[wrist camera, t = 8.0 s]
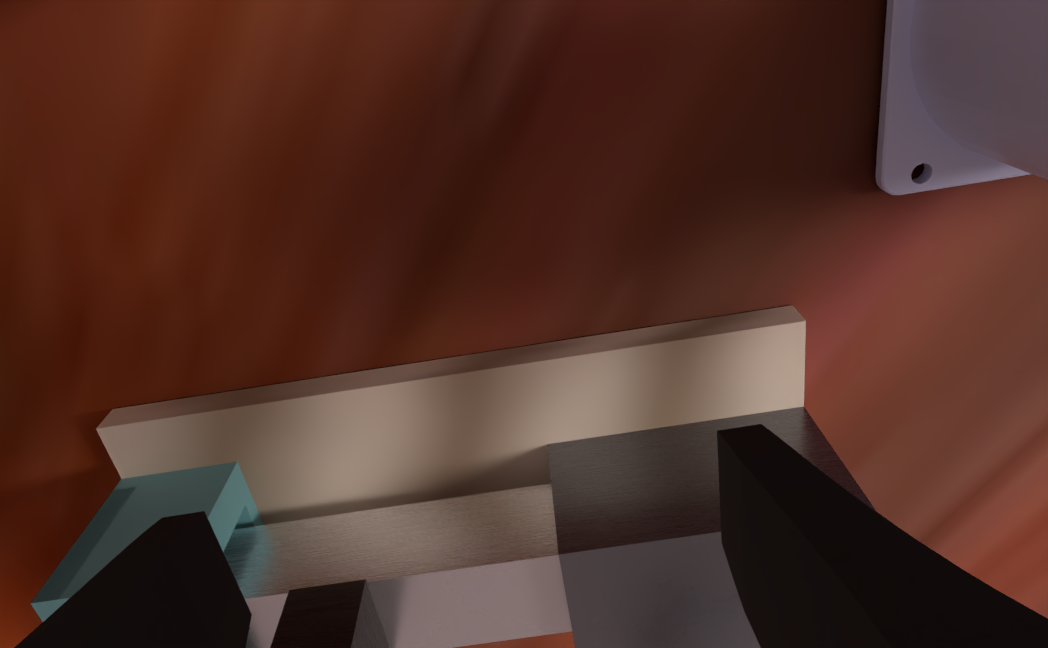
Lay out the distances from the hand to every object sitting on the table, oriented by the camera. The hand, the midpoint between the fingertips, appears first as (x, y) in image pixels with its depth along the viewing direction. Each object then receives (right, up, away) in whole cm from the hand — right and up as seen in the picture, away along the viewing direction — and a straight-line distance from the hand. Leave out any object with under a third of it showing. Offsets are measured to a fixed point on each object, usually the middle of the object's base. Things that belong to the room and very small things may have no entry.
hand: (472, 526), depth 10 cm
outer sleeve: (+5, -2, +13) cm, 14 cm away
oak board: (-1, -3, +13) cm, 13 cm away
